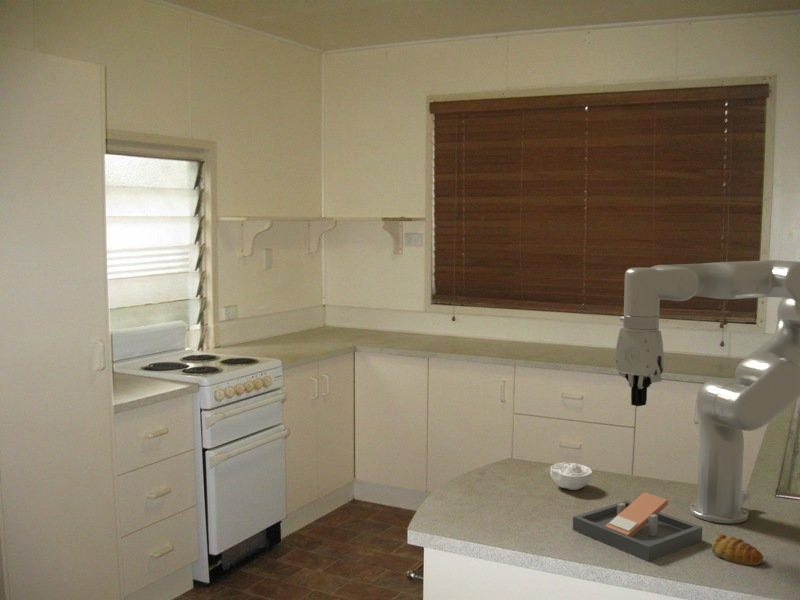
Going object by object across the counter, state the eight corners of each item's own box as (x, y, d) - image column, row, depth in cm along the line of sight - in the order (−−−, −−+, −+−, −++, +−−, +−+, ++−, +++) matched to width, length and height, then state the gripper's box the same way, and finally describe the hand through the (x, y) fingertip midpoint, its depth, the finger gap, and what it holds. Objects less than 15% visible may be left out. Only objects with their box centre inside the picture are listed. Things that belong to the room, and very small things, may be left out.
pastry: (768, 561, 157) (769, 542, 157) (753, 571, 153) (754, 552, 152) (723, 546, 164) (723, 529, 164) (707, 556, 160) (708, 538, 159)
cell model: (580, 479, 208) (581, 454, 207) (598, 494, 196) (598, 468, 195) (543, 480, 206) (544, 455, 206) (559, 496, 194) (559, 469, 194)
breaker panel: (625, 512, 183) (626, 489, 182) (701, 540, 167) (702, 514, 166) (572, 529, 173) (573, 504, 172) (648, 561, 156) (649, 533, 156)
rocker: (644, 496, 176) (643, 490, 175) (669, 504, 170) (668, 499, 170) (604, 530, 169) (603, 524, 168) (629, 540, 163) (628, 534, 163)
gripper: (603, 321, 177) (601, 401, 179) (659, 328, 165) (656, 413, 166) (624, 319, 181) (622, 397, 183) (680, 325, 169) (677, 409, 171)
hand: (638, 404), depth 175 cm, fingers closed
